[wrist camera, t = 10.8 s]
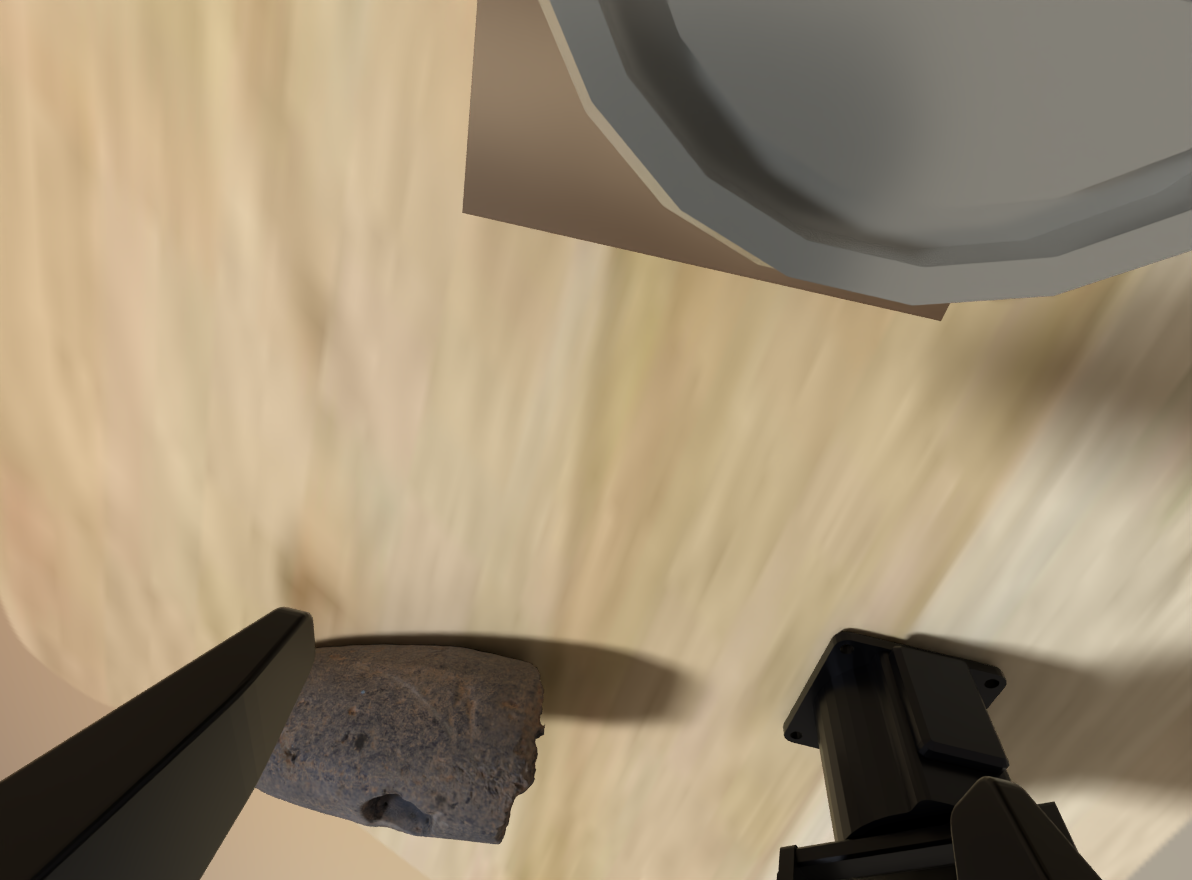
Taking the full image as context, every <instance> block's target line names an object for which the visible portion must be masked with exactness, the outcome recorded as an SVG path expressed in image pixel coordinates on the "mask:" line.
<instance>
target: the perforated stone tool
mask: <svg viewBox="0 0 1192 880" xmlns="http://www.w3.org/2000/svg"><path fill="white" fill-rule="evenodd" d="M543 694H544V689H543V687H542V684H541V682H540V674H539V671H538V669H537V667H534V666H533V665H532V664H531V663H528V662H525V661H521V660H517V659H512V658H508V657H503V656H500V655H495V654H492V653H487V652H480V651H476V650H473V649H469V648H463V647H453V646H444V647H442V646H426V645H351V646H343V647H323V648H315V660H314V664H313V667H312V669H311V672H310V674H309V676H308V678H307V680H306V682H305V684H304V687H303V689H302V691H301V693H300V695H299V697H298V699H297V701H296V704H295V706H294V708H293V710H292V712H291V714H290V716H289V718H288V720H287V723H286V725H285V727H284V729H283V731H282V733H281V735H280V737H279V740H278V742H277V744H276V746H275V748H274V750H273V752H272V754H271V757H270V759H269V761H268V763H267V765H266V767H265V769H264V771H263V773H262V775H261V777H260V779H259V781H258V783H257V785H256V786H255V788H257V789H259V790H261V791H262V792H264V793H266V794H268V795H271V796H273V797H276V798H278V799H282V800H284V801H287V802H290V803H292V804H295V805H298V806H301V807H305V808H308V809H311V810H315V811H318V812H321V813H325V814H328V815H332V816H336V817H340V818H343V819H347V820H350V821H353V822H356V823H359V824H362V825H365V826H373V827H378V826H380V827H388V828H392V829H395V830H397V831H401V832H404V833H407V834H410V835H414V836H424V837H436V838H444V839H454V840H464V841H472V842H480V843H490V844H500V843H501V842H502V840H503V838H504V835H505V831H506V827H507V826H508V823H509V818H510V811H511V807H512V805H513V802H514V799H515V798H516V796H518V795H520V794H522V793H524V792H525V791H526V790H527V789H528V788H529V787H530V786H531V785H532V784H533V782H534V780H535V778H534V775H535V771H536V769H535V762H536V759H537V755H538V753H537V747H536V744H535V739H537V738H539V737H540V736H542V735H544V728H545V725H544V726H543V725H541V722H540V715H541V714H542V703H543Z"/></svg>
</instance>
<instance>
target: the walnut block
mask: <svg viewBox="0 0 1192 880" xmlns="http://www.w3.org/2000/svg"><path fill="white" fill-rule="evenodd" d="M462 213H466V214H470V215H475V216H479V217H484V218H488V219H492V220H497V221H501V222H506V223H510V224H515V225H519V226H523V227H528V228H532V229H537V230H541V231H545V232H550V233H554V234H559V235H563V236H568V237H572V238H576V239H581V240H585V241H590V242H594V243H598V244H603V245H607V246H612V247H616V248H621V249H625V250H629V251H634V252H638V253H643V254H647V255H651V256H656V257H660V258H665V259H669V260H674V261H678V262H682V263H687V264H691V265H696V266H700V267H704V268H709V269H713V270H718V271H722V272H727V273H731V274H735V275H740V276H744V277H749V278H753V279H757V280H762V281H766V282H771V283H775V284H780V285H784V286H788V287H793V288H797V289H802V290H806V291H810V292H815V293H819V294H824V295H828V296H833V297H837V298H841V299H846V300H850V301H855V302H859V303H863V304H868V305H872V306H877V307H881V308H886V309H890V310H894V311H899V312H903V313H908V314H912V315H916V316H921V317H925V318H930V319H934V320H939V321H941V320H942V318H943V316H944V314H945V312H946V310H947V308H948V306H949V304H950V303H942V304H927V305H913V306H912V305H908V304H904V303H899V302H895V301H891V300H886V299H882V298H878V297H873V296H869V295H865V294H860V293H856V292H852V291H847V290H843V289H839V288H835V287H830V286H826V285H822V284H817V283H813V282H809V281H804V280H800V279H796V278H791V277H788V276H786V275H784V274H783V273H781V272H780V271H778V270H776V269H774V268H770V267H766V266H761V265H758V264H756V263H754V262H753V261H751V260H750V259H748V258H746V257H745V256H743V255H742V254H740V253H738V252H737V251H735V250H733V249H732V248H730V247H729V246H727V245H725V244H724V243H722V242H721V241H719V240H717V239H716V238H714V237H712V236H711V235H709V234H708V233H706V232H704V231H703V230H701V229H700V228H698V227H696V226H695V225H693V224H691V223H690V222H688V221H687V220H685V219H683V218H682V217H680V216H679V215H677V214H675V213H674V212H672V211H670V210H669V209H667V208H666V207H664V206H663V205H662V204H661V203H660V201H659V200H658V199H657V198H656V197H655V195H654V194H653V193H652V192H651V191H650V189H649V188H648V187H647V186H646V185H645V183H644V182H643V181H642V180H641V179H640V177H639V176H638V175H637V174H636V173H635V171H634V170H633V169H632V168H631V167H630V165H629V164H628V163H627V162H626V160H625V159H624V158H623V157H622V156H621V154H620V153H619V152H618V151H617V150H616V148H615V147H614V146H613V145H612V144H611V142H610V141H609V140H608V139H607V138H606V136H605V135H604V134H603V133H602V132H601V130H600V129H599V128H598V127H597V126H596V124H595V123H594V122H593V121H592V119H591V118H590V117H589V116H588V115H587V113H586V112H585V110H584V107H583V105H582V103H581V100H580V98H579V96H578V93H577V91H576V88H575V86H574V84H573V81H572V79H571V77H570V74H569V72H568V69H567V67H566V65H565V62H564V60H563V58H562V55H561V53H560V51H559V48H558V46H557V43H556V41H555V39H554V36H553V34H552V32H551V29H550V27H549V24H548V22H547V20H546V17H545V15H544V13H543V10H542V8H541V5H540V3H539V1H538V0H478V1H477V15H476V29H475V43H474V57H473V71H472V85H471V99H470V113H469V127H468V141H467V155H466V169H465V184H464V198H463V212H462Z"/></svg>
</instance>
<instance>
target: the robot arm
mask: <svg viewBox="0 0 1192 880" xmlns="http://www.w3.org/2000/svg"><path fill="white" fill-rule="evenodd" d="M843 645H847V646H843ZM314 660H315V638H314V624H313V617H312V616H311V614H310V613H308V612H305V611H301V610H297V609H293V608H289V607H280V608H277V609H275V610H273V611H271V612H270V613H268V614H267V615H265V616H263V617H262V618H260V619H259V620H257V621H255V622H254V623H252V624H251V625H249V626H247V627H246V628H244V629H243V630H241V631H240V632H238V633H236V634H235V635H233V636H232V637H230V638H228V639H227V640H225V641H224V642H222V643H220V644H219V645H217V646H216V647H214V648H212V649H211V650H209V651H208V652H206V653H204V654H203V655H201V656H200V657H198V658H196V659H195V660H193V661H192V662H190V663H188V664H187V665H185V666H184V667H182V668H180V669H179V670H177V671H176V672H174V673H173V674H171V675H169V676H168V677H166V678H165V679H163V680H161V681H160V682H158V683H157V684H155V685H153V686H152V687H150V688H149V689H147V690H145V691H144V692H142V693H141V694H139V695H137V696H136V697H134V698H133V699H131V700H129V701H128V702H126V703H125V704H123V705H121V706H120V707H118V708H117V709H115V710H113V711H112V712H110V713H109V714H107V715H106V716H104V717H102V718H101V719H99V720H98V721H96V722H95V723H93V724H91V725H90V726H88V727H87V728H85V729H83V730H82V731H80V732H79V733H77V734H75V735H74V736H72V737H70V738H69V739H67V740H66V741H64V742H63V743H61V744H59V745H58V746H56V747H54V748H53V749H51V750H50V751H48V752H47V753H45V754H43V755H42V756H40V757H38V758H37V759H35V760H34V761H32V762H31V763H29V764H27V765H26V766H24V767H23V768H21V769H19V770H18V771H16V772H15V773H13V774H11V775H10V776H8V777H7V778H5V779H3V780H2V781H0V880H200V879H201V877H202V875H203V874H204V872H205V870H206V869H207V867H208V865H209V864H210V862H211V860H212V859H213V857H214V855H215V854H216V852H217V850H218V848H219V847H220V845H221V844H222V842H223V840H224V839H225V837H226V835H227V834H228V832H229V830H230V829H231V827H232V825H233V824H234V822H235V820H236V819H237V817H238V815H239V814H240V812H241V810H242V809H243V807H244V805H245V804H246V802H247V800H248V799H249V797H250V795H251V793H252V792H253V790H254V788H255V786H256V785H257V783H258V781H259V779H260V777H261V775H262V773H263V771H264V769H265V767H266V765H267V763H268V761H269V759H270V757H271V754H272V752H273V750H274V748H275V746H276V744H277V742H278V740H279V737H280V735H281V733H282V731H283V729H284V727H285V725H286V723H287V720H288V718H289V716H290V714H291V712H292V710H293V708H294V706H295V704H296V701H297V699H298V697H299V695H300V693H301V691H302V689H303V687H304V684H305V682H306V680H307V678H308V676H309V674H310V672H311V669H312V667H313V664H314ZM1006 684H1007V683H1006V679H1005V677H1004V675H1003V673H1002V671H1001V670H1000V669H999V668H997V667H994V666H990V665H986V664H982V663H977V662H973V661H969V660H965V659H961V658H956V657H952V656H948V655H944V654H940V653H935V652H931V651H927V650H923V649H919V648H914V647H910V646H906V645H902V644H898V643H893V642H889V641H885V640H881V639H877V638H872V637H868V636H864V635H860V634H856V633H851V632H840V633H838V634H836V635H834V636H833V637H832V639H831V641H830V643H829V644H828V646H827V648H826V650H825V651H824V653H823V655H822V657H821V659H820V660H819V662H818V664H817V666H816V667H815V669H814V671H813V673H812V675H811V676H810V678H809V680H808V682H807V683H806V685H805V687H804V689H803V691H802V692H801V694H800V696H799V698H798V700H797V701H796V703H795V705H794V707H793V708H792V710H791V712H790V714H789V716H788V717H787V719H786V721H785V723H784V725H783V731H784V736H785V738H786V739H787V740H788V741H790V742H793V743H797V744H801V745H806V746H810V747H814V748H818V749H820V755H821V761H822V767H823V773H824V779H825V785H826V791H827V797H828V803H829V809H830V815H831V821H832V827H833V833H834V839H835V842H829V843H823V844H817V845H811V846H805V847H799V848H798V847H797V846H796V845H792V846H786V847H781V848H780V856H779V871H778V873H777V880H1102V879H1101V878H1100V877H1099V876H1098V874H1097V873H1096V872H1095V871H1094V870H1093V869H1092V867H1091V866H1090V865H1089V864H1088V863H1087V862H1086V861H1085V859H1084V858H1083V857H1082V856H1081V855H1080V854H1079V852H1078V850H1077V848H1076V846H1075V844H1074V842H1073V840H1072V838H1071V836H1070V833H1069V831H1068V829H1067V827H1066V825H1065V823H1064V821H1063V819H1062V817H1061V814H1060V812H1059V810H1058V808H1057V806H1056V804H1055V802H1048V803H1042V804H1036V803H1035V801H1034V800H1033V799H1032V798H1031V797H1030V796H1029V794H1028V793H1027V792H1026V791H1025V790H1024V789H1023V788H1022V787H1020V786H1019V785H1018V784H1016V783H1013V782H1011V779H1010V777H1009V775H1008V772H1007V770H1006V769H1007V768H1008V766H1009V761H1008V758H1007V756H1006V754H1005V751H1004V749H1003V747H1002V744H1001V742H1000V740H999V737H998V735H997V733H996V731H995V728H994V726H993V724H992V721H991V719H990V717H989V714H988V712H987V710H986V709H987V708H988V707H989V706H990V705H991V703H992V702H993V701H994V700H995V699H996V697H997V696H998V695H999V694H1000V692H1001V691H1002V690H1003V689H1004V688H1005V686H1006Z"/></svg>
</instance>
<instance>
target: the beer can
mask: <svg viewBox="0 0 1192 880" xmlns="http://www.w3.org/2000/svg"><path fill="white" fill-rule="evenodd" d="M538 1H539V3H540V5H541V8H542V10H543V13H544V15H545V17H546V20H547V22H548V24H549V27H550V29H551V32H552V34H553V36H554V39H555V41H556V43H557V46H558V48H559V51H560V53H561V55H562V58H563V60H564V62H565V65H566V67H567V69H568V72H569V74H570V77H571V79H572V81H573V84H574V86H575V88H576V91H577V93H578V96H579V98H580V100H581V103H582V105H583V107H584V110H585V112H586V113H587V115H588V116H589V117H590V118H591V119H592V121H593V122H594V123H595V124H596V126H597V127H598V128H599V129H600V130H601V132H602V133H603V134H604V135H605V136H606V138H607V139H608V140H609V141H610V142H611V144H612V145H613V146H614V147H615V148H616V150H617V151H618V152H619V153H620V154H621V156H622V157H623V158H624V159H625V160H626V162H627V163H628V164H629V165H630V167H631V168H632V169H633V170H634V171H635V173H636V174H637V175H638V176H639V177H640V179H641V180H642V181H643V182H644V183H645V185H646V186H647V187H648V188H649V189H650V191H651V192H652V193H653V194H654V195H655V197H656V198H657V199H658V200H659V201H660V203H661V204H662V205H663V206H664V207H666V208H667V209H669V210H670V211H672V212H674V213H675V214H677V215H679V216H680V217H682V218H683V219H685V220H687V221H688V222H690V223H691V224H693V225H695V226H696V227H698V228H700V229H701V230H703V231H704V232H706V233H708V234H709V235H711V236H712V237H714V238H716V239H717V240H719V241H721V242H722V243H724V244H725V245H727V246H729V247H730V248H732V249H733V250H735V251H737V252H738V253H740V254H742V255H743V256H745V257H746V258H748V259H750V260H751V261H753V262H754V263H756V264H758V265H761V266H766V267H770V268H774V269H776V270H778V271H780V272H781V273H783V274H784V275H786V276H788V277H791V278H796V279H800V280H804V281H809V282H813V283H817V284H822V285H826V286H830V287H835V288H839V289H843V290H847V291H852V292H856V293H860V294H865V295H869V296H873V297H878V298H882V299H886V300H891V301H895V302H899V303H904V304H908V305H912V306H913V305H927V304H942V303H957V302H971V301H986V300H1000V299H1015V298H1030V297H1044V296H1055V295H1058V294H1061V293H1064V292H1067V291H1070V290H1073V289H1076V288H1079V287H1082V286H1085V285H1088V284H1091V283H1094V282H1097V281H1100V280H1103V279H1106V278H1109V277H1112V276H1115V275H1119V274H1122V273H1125V272H1128V271H1131V270H1134V269H1137V268H1140V267H1143V266H1146V265H1149V264H1152V263H1155V262H1158V261H1161V260H1164V259H1167V258H1170V257H1173V256H1176V255H1179V254H1182V253H1185V252H1188V251H1191V250H1192V0H538Z"/></svg>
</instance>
